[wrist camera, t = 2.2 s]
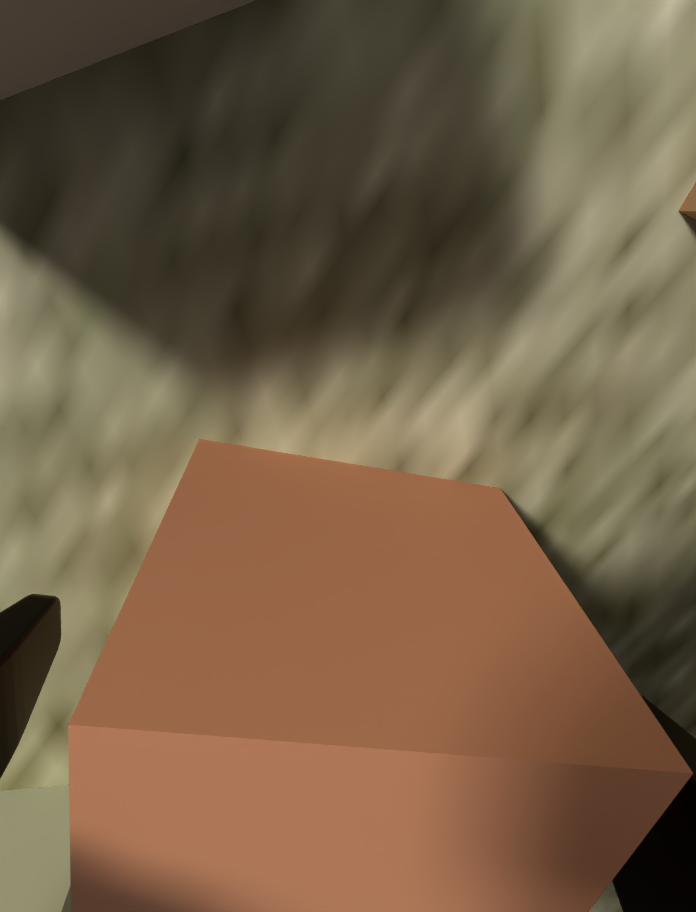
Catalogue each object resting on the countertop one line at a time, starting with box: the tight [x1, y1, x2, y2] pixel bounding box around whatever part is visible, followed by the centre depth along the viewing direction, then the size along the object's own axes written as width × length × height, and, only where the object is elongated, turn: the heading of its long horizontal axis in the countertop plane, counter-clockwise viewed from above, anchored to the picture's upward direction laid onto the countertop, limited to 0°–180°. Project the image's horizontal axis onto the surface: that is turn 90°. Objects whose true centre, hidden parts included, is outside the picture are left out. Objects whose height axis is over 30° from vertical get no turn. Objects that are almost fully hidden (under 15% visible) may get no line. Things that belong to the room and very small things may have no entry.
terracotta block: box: [68, 439, 693, 912], centre depth 8 cm, size 6×6×6 cm
